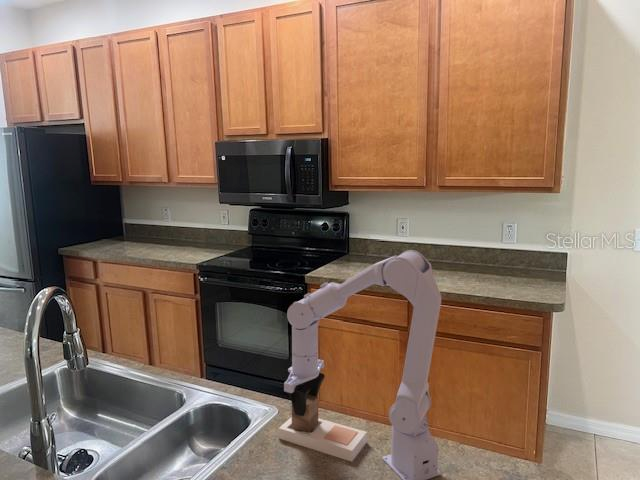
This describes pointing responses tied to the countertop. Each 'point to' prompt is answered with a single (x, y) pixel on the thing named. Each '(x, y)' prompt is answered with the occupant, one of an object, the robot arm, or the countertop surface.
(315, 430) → the socket block
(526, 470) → the countertop surface
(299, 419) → the plug
